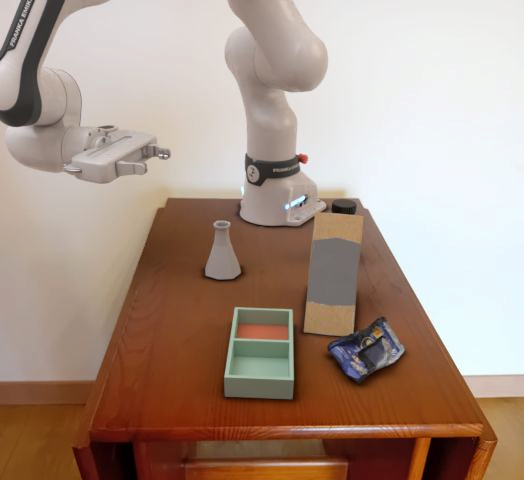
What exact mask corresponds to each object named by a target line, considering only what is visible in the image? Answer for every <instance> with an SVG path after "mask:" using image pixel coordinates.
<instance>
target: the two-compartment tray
mask: <svg viewBox="0 0 524 480" xmlns="http://www.w3.org/2000/svg"><path fill="white" fill-rule="evenodd" d="M230 329H231V330H230V335H229V343H228V349H227V356H226V363H225V370H224V375H223V385H224V388H223V389H224V397H225V398H246V399H247V398H250V399H252V398H253V399H273V400H293V398H294V397H293V396H294V387H295V386H294V385H295V366H294V365H295V364H294V363H295V360H294V358H295V357H294V310H293V309H290V308H269V307H268V308H266V307H239V306H234V309H233V316H232V323H231V328H230Z"/></svg>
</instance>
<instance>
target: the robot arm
mask: <svg viewBox="0 0 524 480" xmlns="http://www.w3.org/2000/svg"><path fill="white" fill-rule="evenodd" d="M109 1H110V0H20V1H19V3H18V7H17V9H16V11H15V14H14V17H13V19H12V21H11V24H10V27H9V28H8V30H7V34H6V36H5V39H4V41H3V44H2V46H1V48H0V122H1V123H2V124H4V125H6V126H7V128H6V131H5V134H4V141H5V145H6V149H7V150H8V153H9V154H10V156H11V157H12V158H13V159H14V160H15V161H16V162H17V163H19V164H20V165H23V166H24V167H26V168H28V169H29V168H30V169H32V170H36V171H41V172H46V173H52V174H59V173H66V174H68V175H71V176H74V177H75V179H77V180H81V181H84V182H89V183H93V184H99V185H105V184H110V183H111V182H113V181H115V180H117V179H118V178H120V177H124V176H132V175H133V176H134V175H137V176H138V175H139V176H143V175H145V174H147V173H148V171H149V170H148V164H147V161H148V160H150V159H152V158H158V159H159V160H164V161H167V160H168V159H170V158H171V157H172V152H171V149H170V148H169V147H163V146H160V145H159V144H158V138H157V136H155V134H152V133H150V132H144V131H139V130H133V129H124V128H123V129H119V126H118V125H114V124H108V125H101V126H82V125H81V121H82V120H81V119H82V107H83V105H82V104H83V103H82V102H83V99H82V93H81V90H80V87H79V85H78V83H77V81H76V80H75V78H73V76H72V75H71V74H70V73H68V72H67V71H64V70H62V69H57V68H53V67H47V66H43V65H44V63H45V61H46V58H47V56H48V55H49V51H50V50H51V46H52V44H53V42H54V40H55V37H56V35H57V32H58V31H59V28H60V26H61V25H62V24H63V22H64V21H65V20H66V19H67V18H68V17H70V16H71V15H72V14H74V13H76V12H79V11H81V10H83V9H86V8H90V7H95V6H101V5H103V4H105V3H107V2H109ZM226 1H227V5H228V7H229V8H230V10H231V11H232V14H234V15H235V16H236V17H237V18H238V19H239V20H240V21H241V22H242V23H243V25H244V26H243V25H242V26H240V27H239V26H238V27H236V28H234V30H232V31H231V32H230V34H229V35H228V36H227V39H226V42H225V45H224V54H223V55H224V61H225V64H226V66H227V69H228V70H229V71H230V72H231V75H233V77H234V79H235V82H236V83H237V86H238V90H239V92H240V96H241V99H242V103H243V108H244V112H245V113H244V114H245V121H246V122H245V123H246V153H245V155H244V172H245V176H244V182H243V186H241V188H240V190H241V194H242V200H240V205H239V207H240V211H239V216H240V217H241V218H242V219H243V220H244V221H246V222H249V223H251V224H254V225H258V226H268V227H276V226H277V227H278V226H287V227H300V226H301V225H303V224H304V223H306V222H308V221H309V220H310V219H312V218H313V217H315V213H316V212H323V211H324V210H325V209H327V203H326V202H325V201H323V200H322V199H320V198H318V186H317V183H316V182H315V181H314V180H313V179H312V178H311V177H310V176H308V175H307V174H306V173H305V172H304V171H303V170H301V166H300V163H301V164H302V165H306V164H307V163H308V162H309V156H308V155H307V154H303V153H299V154H297V141H298V125H299V123H298V118H297V115H296V113H295V112H294V111H293V109H292V107H291V106H290V104H289V102H288V100H287V96H286V92H287V93H305V92H312V91H314V90H316V89H317V88H319V86H320V85H321V84H322V82H323V81H324V79H325V77H326V74H327V72H328V67H329V52H328V48H327V46H326V44H325V43H324V41H323V40H322V39H321V38H320V37H319V36H318V35H316V34H315V32H313V31H312V29H311V28H310V27H309V26H308V24H307V23H306V21H305V20H304V18H303V16H302V15H301V13H300V11H299V9H298V8H297V6H296V4H295V1H294V0H226Z"/></svg>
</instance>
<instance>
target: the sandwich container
mask: <svg viewBox="0 0 524 480" xmlns="http://www.w3.org/2000/svg"><path fill="white" fill-rule="evenodd" d="M313 219H314V220H313V228H312V237H311V243H310V244H311V245H310V256H309V268H308V277H307V278H308V279H307V289H306V291H307V292H306V303H305V314H304V324H303V325H304V326H303V333H308V334H315V335H316V334H317V335H323V336H324V335H325V336H334V337H335V336H336V337H341V336H346V335H350V334H353V333H354V332H355V331H354V329H355V317H356V307H357V306H356V305H357V293H358V281H359V271H360V259H361V249H362V242H363V241H362V240H363V231H364V224H365V223H364V222H365V216H364V215H358V214H357V215H356V214H355V215H348V214H337V213H332V212H323V211H321V212H316V213H315V216H314V218H313Z"/></svg>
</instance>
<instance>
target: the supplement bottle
mask: <svg viewBox="0 0 524 480" xmlns="http://www.w3.org/2000/svg"><path fill="white" fill-rule="evenodd" d="M357 206H358V204H357V202H356V201H354V200H352V199H347V198H336V199H333V201H332V202H331V208H330V213H337V214H348V215H356V214H357Z"/></svg>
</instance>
